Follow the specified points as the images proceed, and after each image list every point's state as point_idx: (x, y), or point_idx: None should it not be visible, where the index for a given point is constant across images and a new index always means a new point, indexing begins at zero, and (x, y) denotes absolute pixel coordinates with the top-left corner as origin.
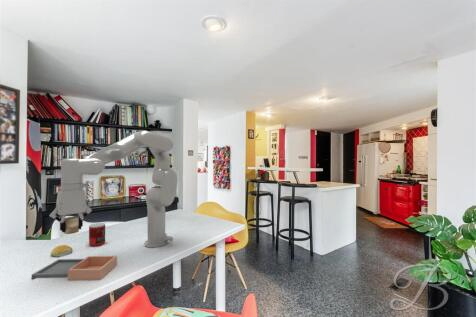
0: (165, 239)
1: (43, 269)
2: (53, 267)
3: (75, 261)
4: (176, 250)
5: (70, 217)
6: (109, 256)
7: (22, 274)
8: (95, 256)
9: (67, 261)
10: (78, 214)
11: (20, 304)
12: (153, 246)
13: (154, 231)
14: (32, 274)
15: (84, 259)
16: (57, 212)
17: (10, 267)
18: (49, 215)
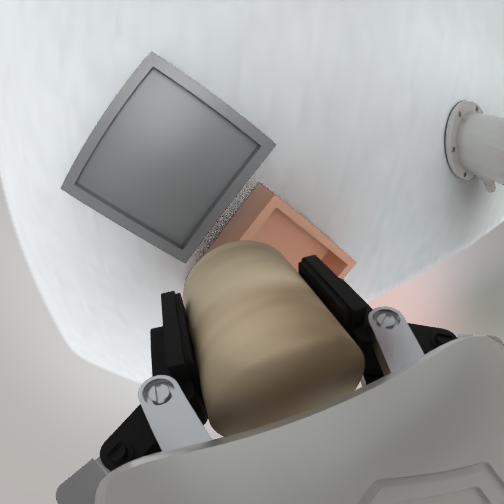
0: (484, 180)
1: (93, 150)
2: (129, 121)
3: (219, 114)
4: (461, 234)
5: (286, 371)
6: (337, 252)
7: (32, 111)
8: (299, 218)
9: (187, 90)
10: (387, 372)
11: (91, 340)
12: (454, 170)
13: (498, 178)
14: (62, 188)
15: (255, 226)
16: (107, 485)
17: (4, 16)
18: (58, 498)
